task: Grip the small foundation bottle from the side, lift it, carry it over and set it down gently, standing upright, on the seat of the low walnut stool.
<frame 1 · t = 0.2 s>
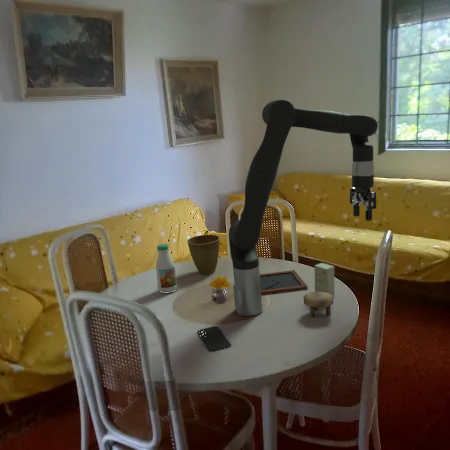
hand: (362, 218, 162), 29 cm above the table, tool pointing down, fingers open, 8 cm apart
milk bottle: (168, 291, 187), on the table
skincare box: (325, 296, 168), on the table
stool: (318, 313, 154), on the table
picture frame: (271, 285, 185), on the table
plant pot: (206, 272, 205), on the table
phone: (213, 340, 143), on the table
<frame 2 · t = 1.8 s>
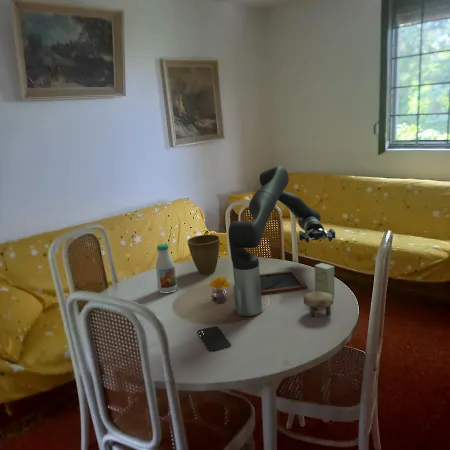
hand: (319, 239, 174), 19 cm above the table, tool horizontal, fingers open, 8 cm apart
nothing on the table moved.
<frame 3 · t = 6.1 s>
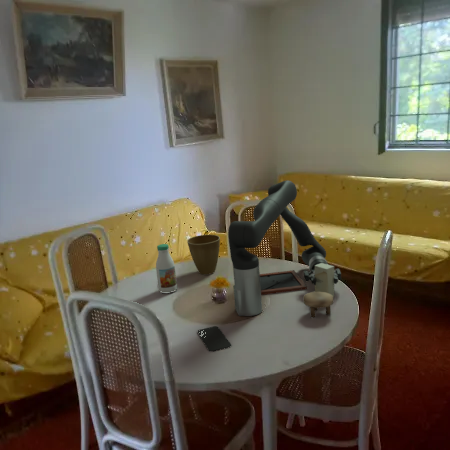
hand: (325, 281, 164), 7 cm above the table, tool horizontal, fingers closed on skincare box, 7 cm apart
skincare box: (325, 296, 168), on the table, touching gripper
everything else where it was.
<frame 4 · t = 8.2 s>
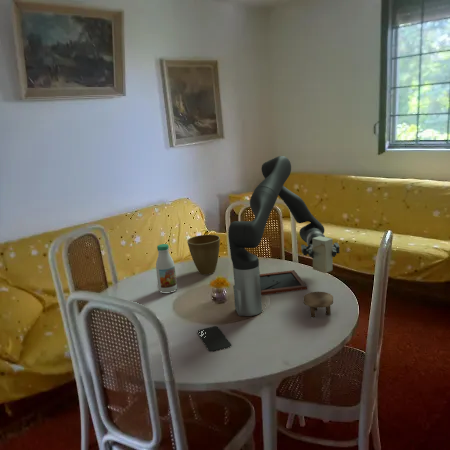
hand: (323, 254, 160), 18 cm above the table, tool horizontal, fingers closed on skincare box, 7 cm apart
skincare box: (323, 270, 163), point 11 cm above the table, touching gripper
everything else where it was.
when the fingers open (14 cm above the table, at t = 10.5 s): skincare box drops 1 cm, resting on stool.
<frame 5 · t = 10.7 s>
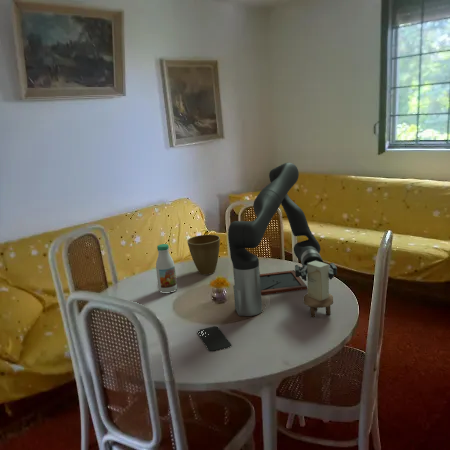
hand: (318, 277, 149), 14 cm above the table, tool horizontal, fingers open, 8 cm apart
skincare box: (318, 297, 153), point 6 cm above the table, touching stool
everything else where it was.
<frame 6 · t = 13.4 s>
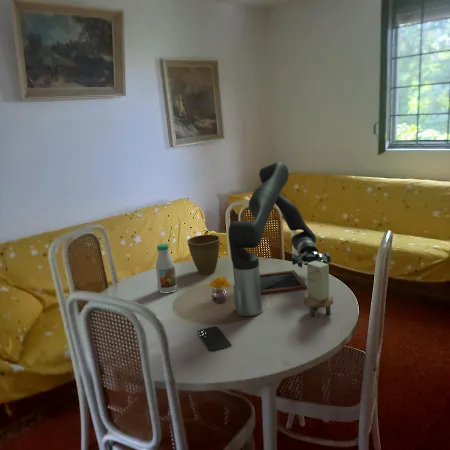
hand: (313, 264, 161), 14 cm above the table, tool horizontal, fingers open, 8 cm apart
nothing on the table moved.
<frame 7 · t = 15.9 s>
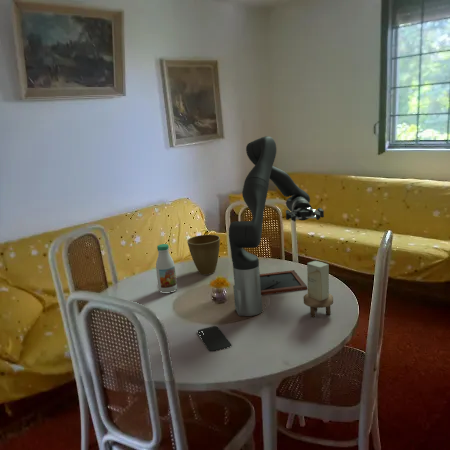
hand: (306, 218, 164), 30 cm above the table, tool horizontal, fingers open, 8 cm apart
nothing on the table moved.
at the end: skincare box 0.2 cm off-centre on the stool, point 5.8 cm above the stool's base; skincare box tilted 0°; the gripper is holding nothing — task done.
